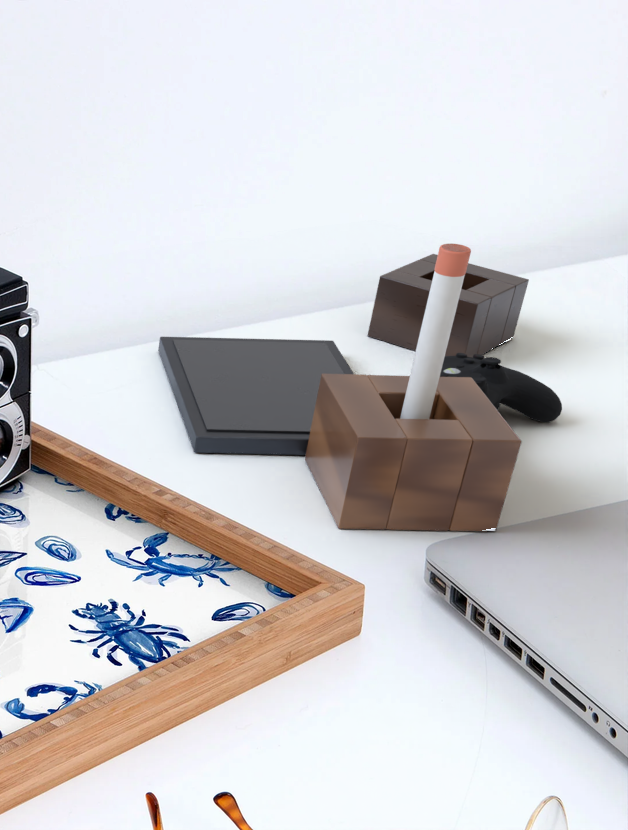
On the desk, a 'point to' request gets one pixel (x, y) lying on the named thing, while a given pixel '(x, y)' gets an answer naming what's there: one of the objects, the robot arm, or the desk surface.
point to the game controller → (505, 386)
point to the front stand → (409, 455)
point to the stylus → (435, 330)
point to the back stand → (475, 314)
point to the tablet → (248, 390)
